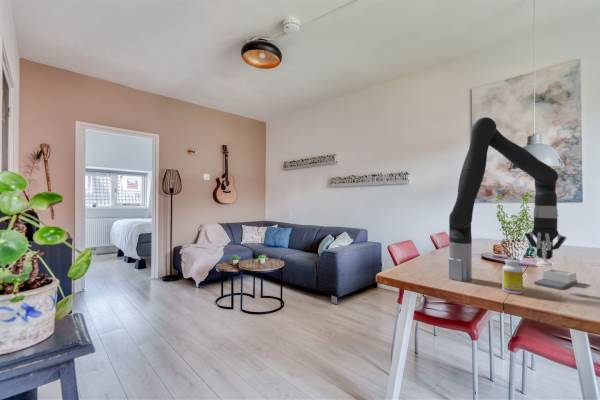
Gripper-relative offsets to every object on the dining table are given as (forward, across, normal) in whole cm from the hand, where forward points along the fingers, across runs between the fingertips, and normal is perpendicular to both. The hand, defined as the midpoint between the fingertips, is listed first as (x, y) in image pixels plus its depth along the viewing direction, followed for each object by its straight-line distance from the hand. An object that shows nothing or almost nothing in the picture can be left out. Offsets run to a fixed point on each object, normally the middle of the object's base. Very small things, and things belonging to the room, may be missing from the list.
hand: (544, 258), depth 119 cm
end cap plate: (+13, -1, +15) cm, 20 cm away
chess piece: (+3, 0, 0) cm, 3 cm away
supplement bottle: (+14, -6, -15) cm, 21 cm away
